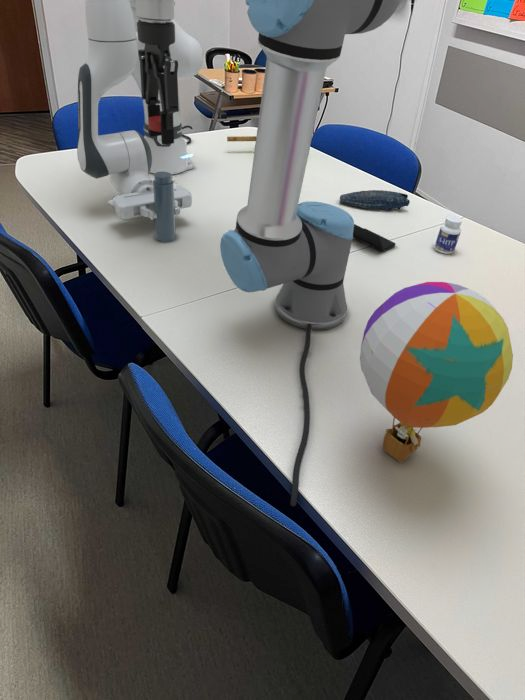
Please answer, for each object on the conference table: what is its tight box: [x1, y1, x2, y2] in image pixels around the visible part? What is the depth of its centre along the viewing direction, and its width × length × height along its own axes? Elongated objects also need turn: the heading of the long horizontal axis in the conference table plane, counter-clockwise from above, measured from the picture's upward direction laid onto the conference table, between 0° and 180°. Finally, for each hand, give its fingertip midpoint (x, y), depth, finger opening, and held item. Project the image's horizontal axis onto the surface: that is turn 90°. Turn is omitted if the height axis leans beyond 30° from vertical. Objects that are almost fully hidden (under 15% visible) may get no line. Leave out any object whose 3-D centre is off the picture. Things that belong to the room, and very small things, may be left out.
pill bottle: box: [434, 215, 463, 255], centre depth 137 cm, size 5×5×9 cm
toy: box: [359, 281, 514, 463], centre depth 73 cm, size 20×20×30 cm
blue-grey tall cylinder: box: [153, 172, 176, 243], centre depth 129 cm, size 5×5×16 cm
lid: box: [148, 116, 161, 132], centre depth 116 cm, size 6×6×2 cm
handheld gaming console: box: [353, 223, 396, 253], centre depth 138 cm, size 12×7×10 cm
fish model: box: [339, 189, 411, 211], centre depth 158 cm, size 7×21×5 cm, turn 84°
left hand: (166, 214), depth 129 cm, fingers closed on blue-grey tall cylinder, 5 cm apart
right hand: (161, 139), depth 119 cm, fingers closed on lid, 5 cm apart
